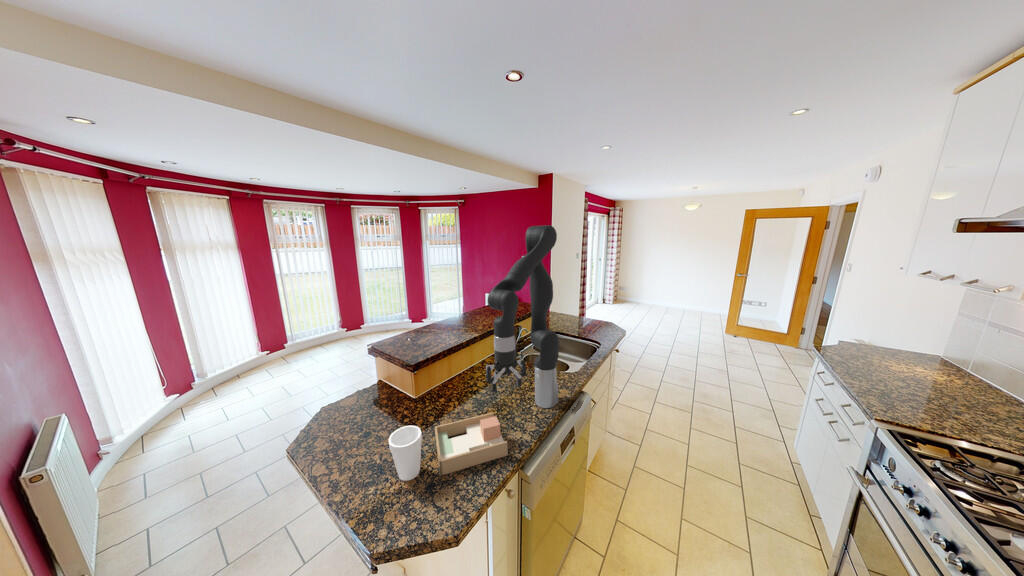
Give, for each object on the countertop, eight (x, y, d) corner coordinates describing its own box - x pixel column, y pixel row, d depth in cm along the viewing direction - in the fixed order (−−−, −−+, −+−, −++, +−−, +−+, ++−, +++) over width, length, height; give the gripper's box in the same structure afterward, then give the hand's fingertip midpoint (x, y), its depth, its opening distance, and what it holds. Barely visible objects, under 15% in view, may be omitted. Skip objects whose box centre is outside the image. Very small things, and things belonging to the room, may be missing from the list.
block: (496, 428, 102) (496, 415, 102) (500, 437, 98) (500, 424, 97) (480, 432, 101) (480, 420, 100) (484, 441, 96) (483, 428, 95)
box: (493, 423, 109) (493, 412, 108) (507, 455, 93) (507, 442, 92) (435, 438, 102) (434, 426, 101) (440, 475, 86) (439, 461, 85)
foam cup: (399, 461, 92) (394, 426, 89) (427, 459, 92) (424, 424, 90) (388, 486, 83) (383, 448, 80) (420, 484, 83) (416, 446, 81)
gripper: (520, 339, 101) (522, 380, 105) (482, 345, 97) (484, 388, 100) (528, 347, 94) (529, 391, 98) (487, 354, 90) (489, 399, 93)
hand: (506, 389), depth 99 cm, fingers open, 8 cm apart
